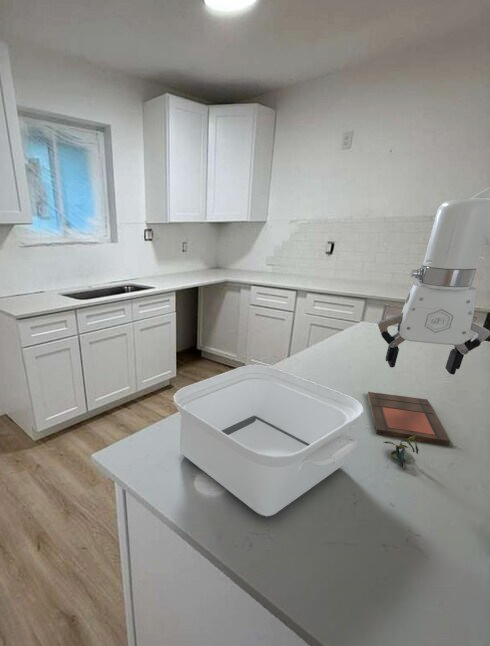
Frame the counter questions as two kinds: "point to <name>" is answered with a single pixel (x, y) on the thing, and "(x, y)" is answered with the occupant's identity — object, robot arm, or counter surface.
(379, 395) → the board
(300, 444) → the white storage bin
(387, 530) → the counter surface
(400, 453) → the dark green branching piece
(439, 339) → the robot arm
